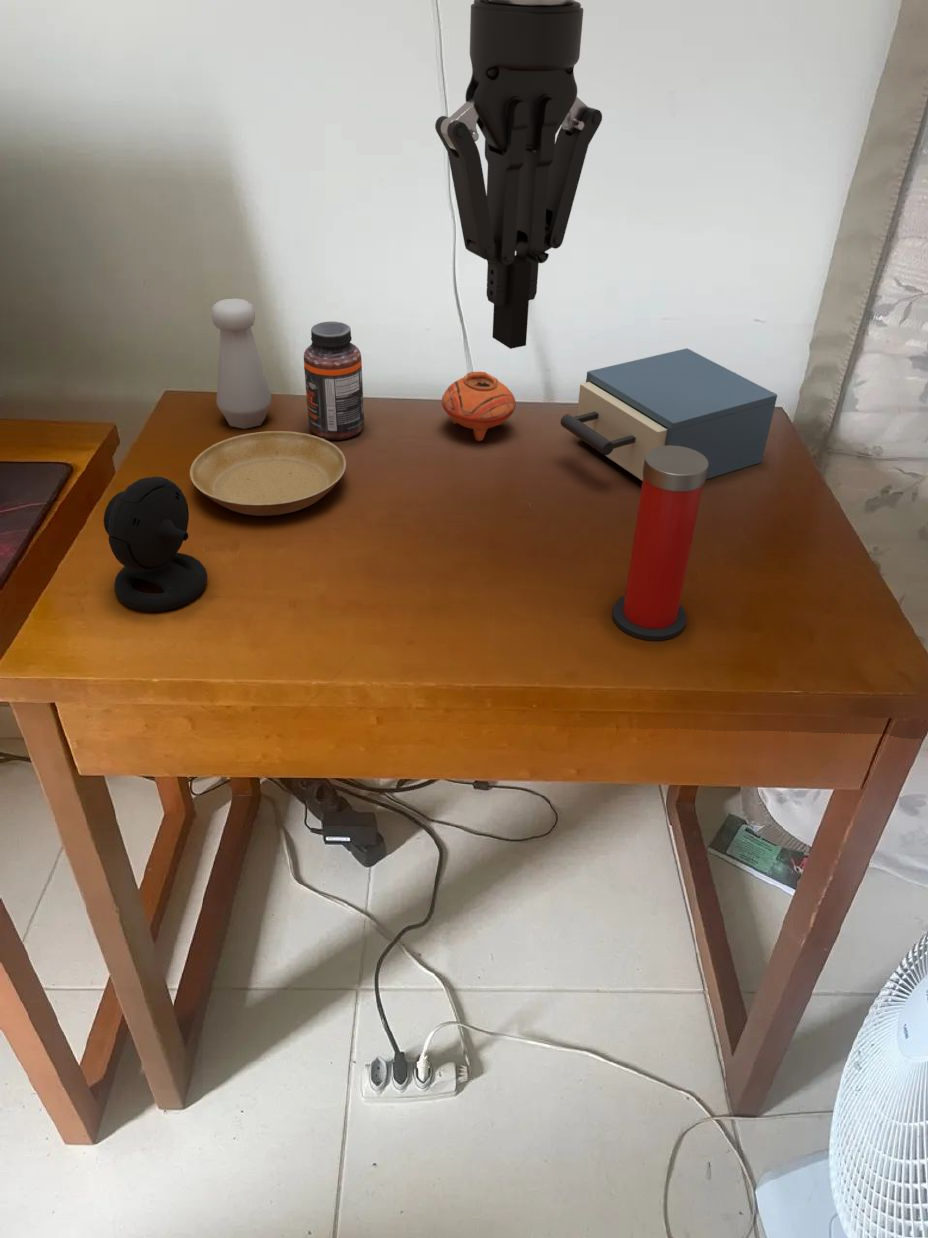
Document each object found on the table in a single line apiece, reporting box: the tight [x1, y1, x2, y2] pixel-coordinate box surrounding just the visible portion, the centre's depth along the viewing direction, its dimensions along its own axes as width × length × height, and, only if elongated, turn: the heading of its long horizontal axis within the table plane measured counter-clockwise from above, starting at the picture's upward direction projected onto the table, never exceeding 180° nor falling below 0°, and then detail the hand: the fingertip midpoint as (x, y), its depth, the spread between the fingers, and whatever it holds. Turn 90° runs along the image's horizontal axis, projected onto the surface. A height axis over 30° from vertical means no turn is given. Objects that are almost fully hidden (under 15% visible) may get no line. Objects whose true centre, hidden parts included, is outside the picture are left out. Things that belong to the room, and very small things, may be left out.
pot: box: [441, 371, 517, 442], centre depth 105 cm, size 8×8×7 cm
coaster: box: [611, 595, 688, 642], centre depth 80 cm, size 6×6×1 cm
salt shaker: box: [211, 298, 272, 430], centre depth 103 cm, size 6×6×13 cm
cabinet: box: [585, 347, 778, 480], centre depth 102 cm, size 14×14×8 cm
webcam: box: [103, 475, 208, 612], centre depth 79 cm, size 8×8×10 cm
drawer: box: [560, 382, 667, 482], centre depth 100 cm, size 17×12×6 cm
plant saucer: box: [189, 430, 347, 517], centre depth 95 cm, size 15×15×3 cm
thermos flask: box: [623, 445, 708, 629], centre depth 76 cm, size 5×5×14 cm
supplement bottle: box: [303, 320, 365, 441], centre depth 103 cm, size 6×6×11 cm
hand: (509, 341), depth 79 cm, fingers closed
